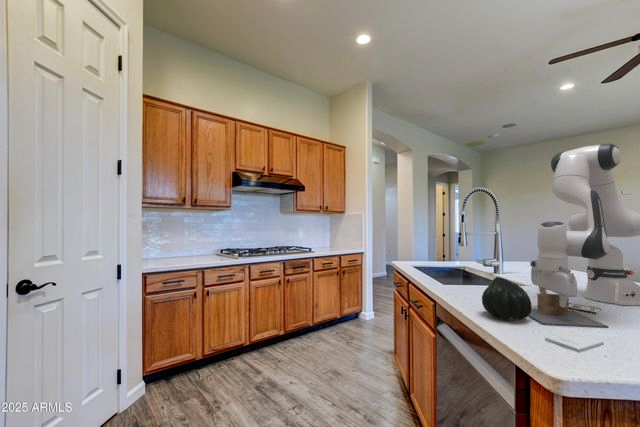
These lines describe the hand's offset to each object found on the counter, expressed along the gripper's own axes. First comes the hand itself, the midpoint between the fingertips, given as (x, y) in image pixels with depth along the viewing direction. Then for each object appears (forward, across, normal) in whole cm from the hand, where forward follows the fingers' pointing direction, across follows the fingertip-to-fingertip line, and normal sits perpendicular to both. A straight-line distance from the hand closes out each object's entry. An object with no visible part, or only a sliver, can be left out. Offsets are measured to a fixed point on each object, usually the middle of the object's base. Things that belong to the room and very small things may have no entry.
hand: (552, 302), depth 107 cm
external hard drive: (+6, -25, +10) cm, 27 cm away
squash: (+5, -5, +19) cm, 20 cm away
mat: (+5, -3, 0) cm, 6 cm away
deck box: (+4, 0, 0) cm, 4 cm away
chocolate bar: (+5, +13, -14) cm, 20 cm away
